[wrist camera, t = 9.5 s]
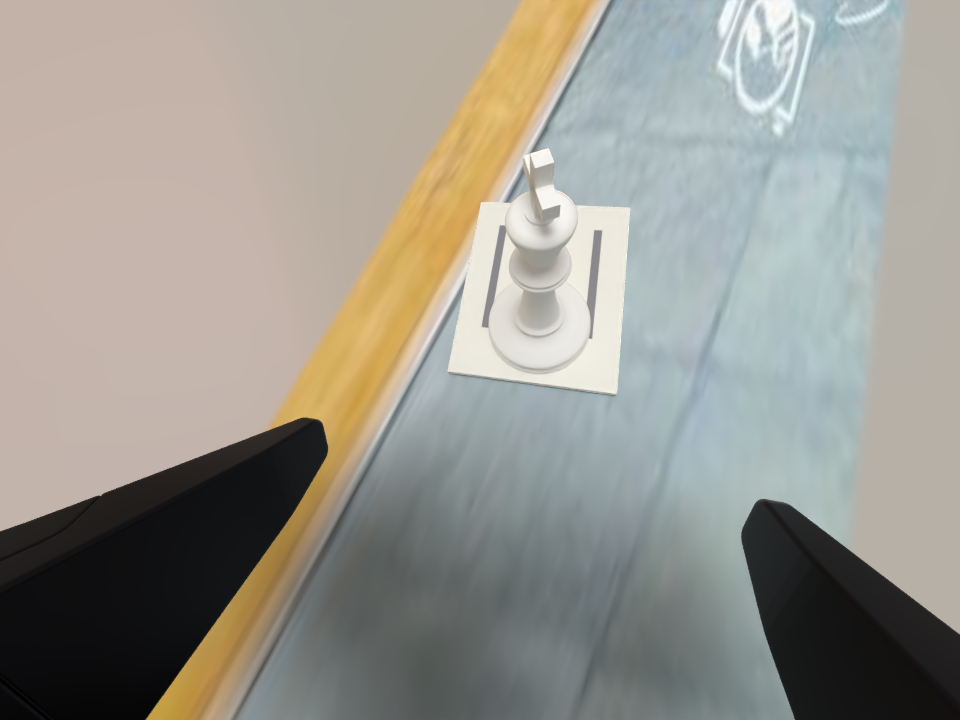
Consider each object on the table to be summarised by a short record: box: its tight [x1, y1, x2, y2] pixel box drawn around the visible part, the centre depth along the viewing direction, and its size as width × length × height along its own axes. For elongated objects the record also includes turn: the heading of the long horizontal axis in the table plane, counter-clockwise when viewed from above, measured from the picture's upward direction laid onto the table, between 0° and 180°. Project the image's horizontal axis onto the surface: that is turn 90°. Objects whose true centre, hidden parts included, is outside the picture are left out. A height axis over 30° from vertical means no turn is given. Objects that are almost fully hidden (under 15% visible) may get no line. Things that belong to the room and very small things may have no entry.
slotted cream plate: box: [448, 202, 630, 396], centre depth 18 cm, size 10×8×1 cm
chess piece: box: [488, 148, 591, 374], centre depth 13 cm, size 5×5×10 cm
